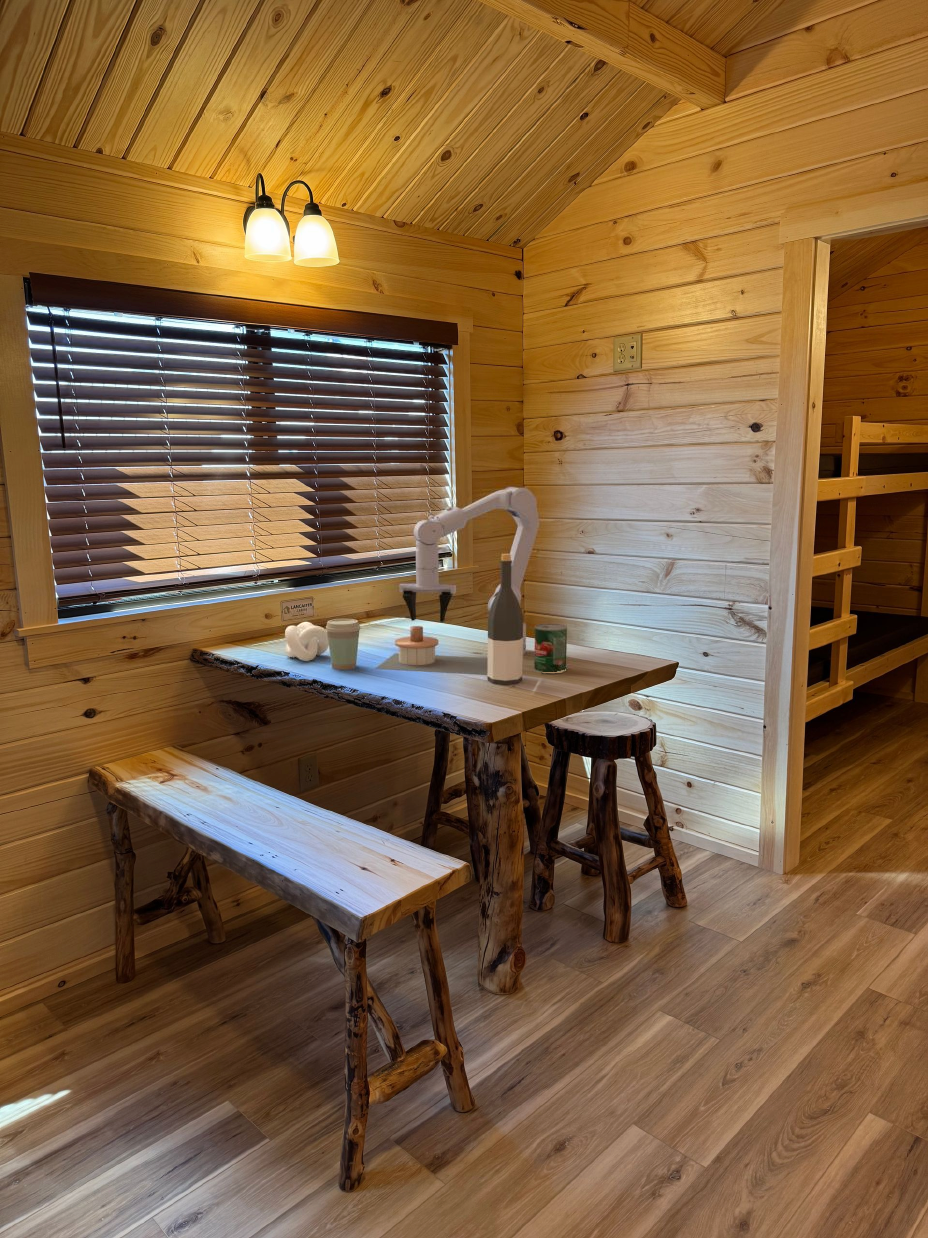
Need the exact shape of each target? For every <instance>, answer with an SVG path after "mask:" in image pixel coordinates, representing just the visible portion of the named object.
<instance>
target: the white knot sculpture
mask: <svg viewBox="0 0 928 1238" xmlns="http://www.w3.org/2000/svg"><path fill="white" fill-rule="evenodd" d="M325 629H326V628H324V627H322V626H318V625H314V624H313V623H312V622H309V621H303V622H300V623H299V624H298V625H289V626H287V627H286V629H285V632H284V638H285V640H286V647H285V653H286V655H287V656H288V658H290V657H293V658H292V659H295V658H294V657H296V658H298V659H299V661H300V660H301V661H304V662H310V660H311V661H312V660H314V659H315V658H316V657H317V656H316V655H318V656H321V655H323V654H325V653H326V652H327V650H328V648H329V643H328V636H327V631H326V630H325Z"/></svg>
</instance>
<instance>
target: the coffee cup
mask: <svg viewBox="0 0 928 1238" xmlns="http://www.w3.org/2000/svg"><path fill="white" fill-rule="evenodd" d="M324 629H325V630H326V631H327V636H328V643H329V646H328V648H329V650H328V651H329V656H330V663H331V668H332V669H333V670H337V671H348V670H353V669H355V668H357V659H358V649H359V648H358V647H359V638H360V630H361V625H360V623H359V621H358V620H357V619H353V618H335V619H330V620H328V621H327V622H326V626H325V628H324Z"/></svg>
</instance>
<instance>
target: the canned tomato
mask: <svg viewBox="0 0 928 1238" xmlns="http://www.w3.org/2000/svg"><path fill="white" fill-rule="evenodd" d="M567 637H568V627H567V625H565V624H559V623H552V622H551V623H548V622H547V623H539V624H536V625H534V670H536V671H538V672H541V673H542V672H557V671H561V670H565V669H566V670H567V649H568V648H567V647H568V645H567V644H568V643H567V641H568V638H567Z"/></svg>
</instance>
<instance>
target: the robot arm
mask: <svg viewBox="0 0 928 1238" xmlns="http://www.w3.org/2000/svg"><path fill="white" fill-rule="evenodd" d="M537 503H538V500H537V498H536V497H535V495H534V493H533V492H532V491H531V490H530V489H528V488H526V487H516V486H508V487H506V488H504V489H500V490H496V491H495V492H492V493H490V494H488V495H486V496H484V497H482V498H481V499H478V500H476V501H474V502H473V503H471V504H468V505H467V506H465V507H463V508H460V507H457V506H453V507H452V506H448V507H445V510H444V511H442V512H440V513H438V514H435V515H432V514H431V515H429V516H428V518H429V520H426V519H423V520H420V521H418V522H416V524H415V526H414V528H413V531H412V534H413V538H414V539H415V540H416V541H415V578H416V579H415V580H416V581H415V582H416V583H400V584H398V589H399V591H398V592H399V593H402V599H403V600H404V602H405V604H406V606H407V609H408V612H409V617H410V619H411V621H412V622H413V621H416V620H417V609H416V601H417V593H424V594H425V593H428V594H430V593H432V594H439V595H438V598H439V608H440V609H439V611H440V612H439V613H440V614H439V621H440V622H441V623H443V622H444V621H446V620H445V619H446V613H447V611H448V608H449V604H450V601H451V599H452V598H453V595H455V594H456V593H457V585H455V584H443V583H442V584H441V583H439V580H440V579H439V576H440V575H439V541H440V539H441V538H444V537H446V536H448V535H450V534H452V533H453V534H454V533H455V532H457V531H459V530H462V529H464V528H465V526H466V524H467V522H468V521H469V520H471V519H473V518H476V517H478V516H480V515H481V516H482V515H483V514H486V513H488V512H490V511H493V510H497V509H498V510H499V509H500V510H505V511H506V512H508V513H509V514H510V515H511V516H512V518H513V519H514V521H515V523H516V525H517V527H516V528H517V529H516V531H515V535H514V539H513V542H512V545H511V547H510V552H509V554H511V561H512V566H511V588H512V590H513V592H514V594H515V596H516V598H517V600H518V602H519V605H520V606H521V601H522V593H521V587H522V583H523V580H524V577H525V574H526V569H527V568H528V564H529V560H530V557H531V555H532V550H533V548H534V544H535V541H536V537H537V534H538V531H539V527H540V517H539V514H538V513H539V512H538V508H537V505H538V504H537ZM500 586H501V583H500V584H498V586H497V587H496V588H495V591H494V593H493V595H492V596H491V597H490V599H489V601H488V603H487V611H488V612H489V611H490V608H491V605H492V603H493V600H494V598H495V597H496V595H497V593H498V591H499V589H500ZM526 652H527V624H526V622H523V656H524V655H525V654H526ZM486 656H488V652H487V653H486Z"/></svg>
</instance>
